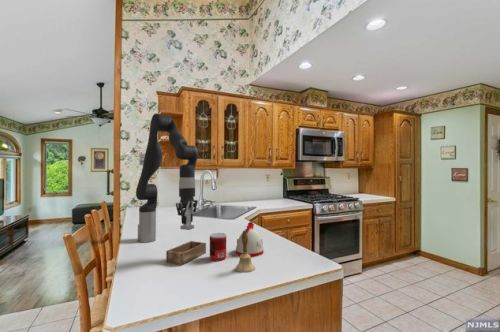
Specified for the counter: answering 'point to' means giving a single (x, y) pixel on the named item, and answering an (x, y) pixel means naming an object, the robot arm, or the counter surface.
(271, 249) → the counter surface
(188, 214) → the bracket
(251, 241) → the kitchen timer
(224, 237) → the canned food
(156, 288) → the counter surface
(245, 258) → the hand bell
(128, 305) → the counter surface
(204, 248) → the open wooden box
